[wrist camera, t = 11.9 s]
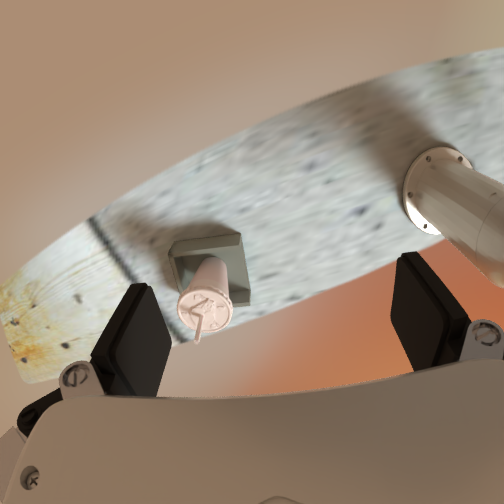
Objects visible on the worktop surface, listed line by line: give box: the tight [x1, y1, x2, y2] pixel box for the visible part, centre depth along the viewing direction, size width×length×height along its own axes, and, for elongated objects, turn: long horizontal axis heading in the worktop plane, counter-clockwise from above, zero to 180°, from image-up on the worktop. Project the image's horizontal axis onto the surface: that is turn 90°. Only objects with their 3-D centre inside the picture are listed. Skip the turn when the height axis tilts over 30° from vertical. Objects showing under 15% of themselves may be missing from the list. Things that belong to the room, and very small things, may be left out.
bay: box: [168, 233, 251, 307], centre depth 42 cm, size 9×9×4 cm
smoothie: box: [177, 257, 233, 344], centre depth 37 cm, size 6×6×14 cm
